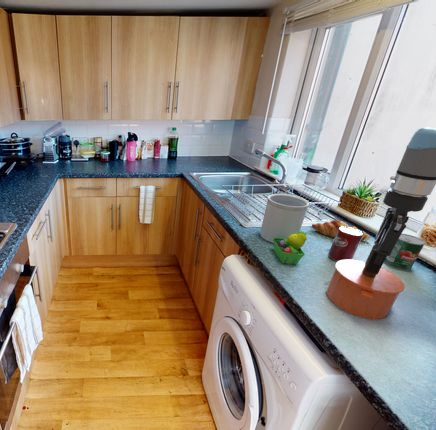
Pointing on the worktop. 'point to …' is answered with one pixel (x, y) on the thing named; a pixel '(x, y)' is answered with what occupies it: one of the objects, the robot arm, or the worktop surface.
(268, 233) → the utensil holder
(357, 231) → the soda can
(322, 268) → the worktop surface
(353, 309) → the pot
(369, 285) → the lid
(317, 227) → the croissant
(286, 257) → the fruit basket
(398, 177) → the robot arm
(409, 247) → the canned tomato
